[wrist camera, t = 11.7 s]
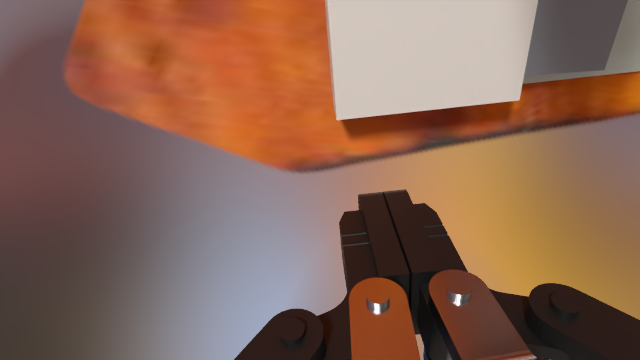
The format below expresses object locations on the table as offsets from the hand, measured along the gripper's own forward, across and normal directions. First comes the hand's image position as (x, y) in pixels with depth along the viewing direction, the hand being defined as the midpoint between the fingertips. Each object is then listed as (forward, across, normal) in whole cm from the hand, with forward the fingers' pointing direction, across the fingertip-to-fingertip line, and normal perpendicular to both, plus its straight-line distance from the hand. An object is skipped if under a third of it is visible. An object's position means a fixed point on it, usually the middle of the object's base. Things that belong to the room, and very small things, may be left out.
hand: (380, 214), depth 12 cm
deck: (+25, -8, -1) cm, 26 cm away
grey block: (+25, -20, 0) cm, 32 cm away
